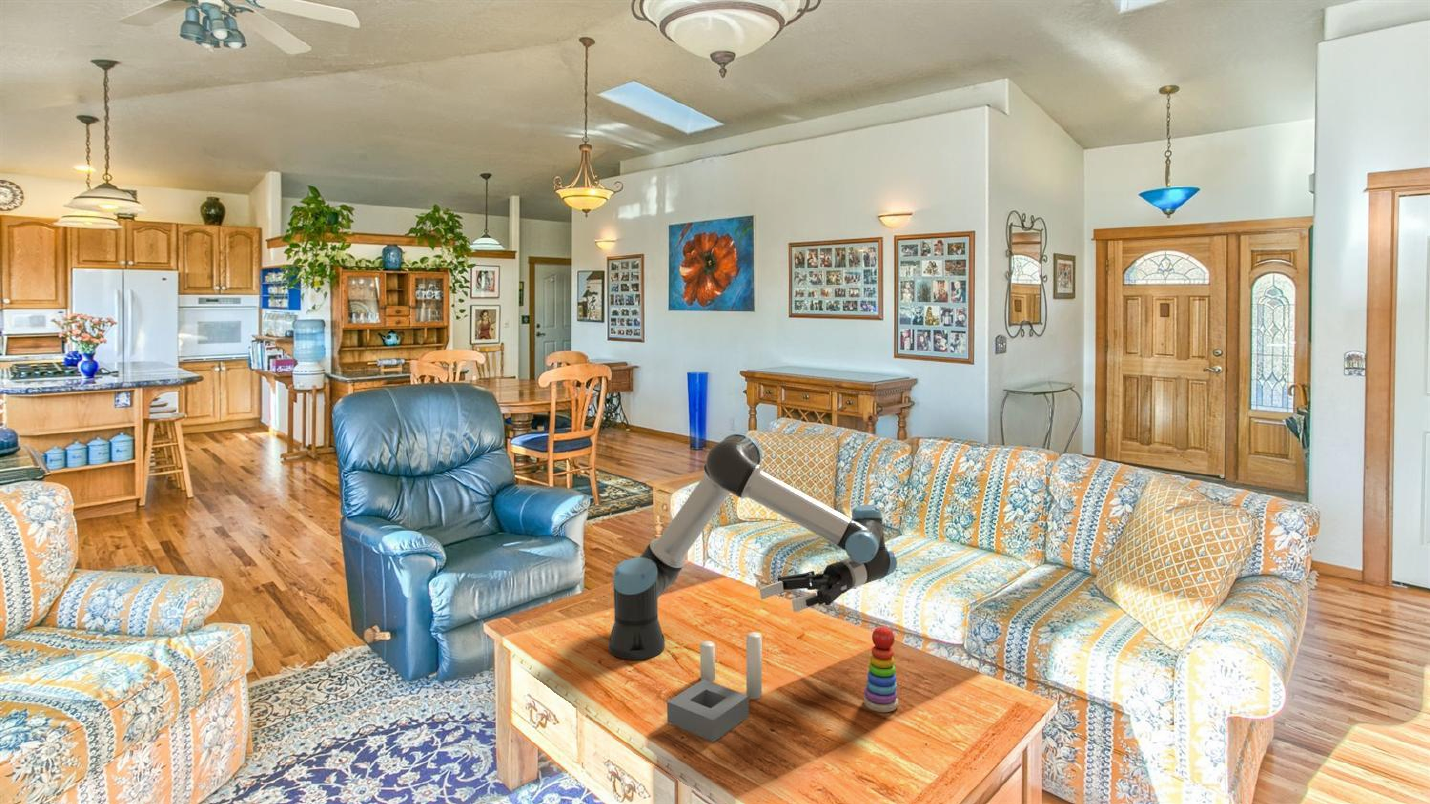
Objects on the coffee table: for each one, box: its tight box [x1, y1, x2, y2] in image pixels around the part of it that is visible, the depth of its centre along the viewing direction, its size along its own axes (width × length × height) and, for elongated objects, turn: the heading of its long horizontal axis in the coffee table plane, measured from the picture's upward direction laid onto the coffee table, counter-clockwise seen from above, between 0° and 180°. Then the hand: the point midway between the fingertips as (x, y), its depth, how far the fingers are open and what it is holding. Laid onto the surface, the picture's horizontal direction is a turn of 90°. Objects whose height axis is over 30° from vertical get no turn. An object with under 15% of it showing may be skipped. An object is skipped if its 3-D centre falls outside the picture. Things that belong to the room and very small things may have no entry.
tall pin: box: [745, 631, 763, 700], centre depth 186 cm, size 4×4×15 cm
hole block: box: [666, 679, 750, 743], centre depth 176 cm, size 13×13×5 cm
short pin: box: [699, 640, 716, 682], centre depth 195 cm, size 4×4×9 cm
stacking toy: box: [863, 625, 900, 713], centre depth 181 cm, size 8×8×19 cm
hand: (776, 600), depth 190 cm, fingers open, 13 cm apart
